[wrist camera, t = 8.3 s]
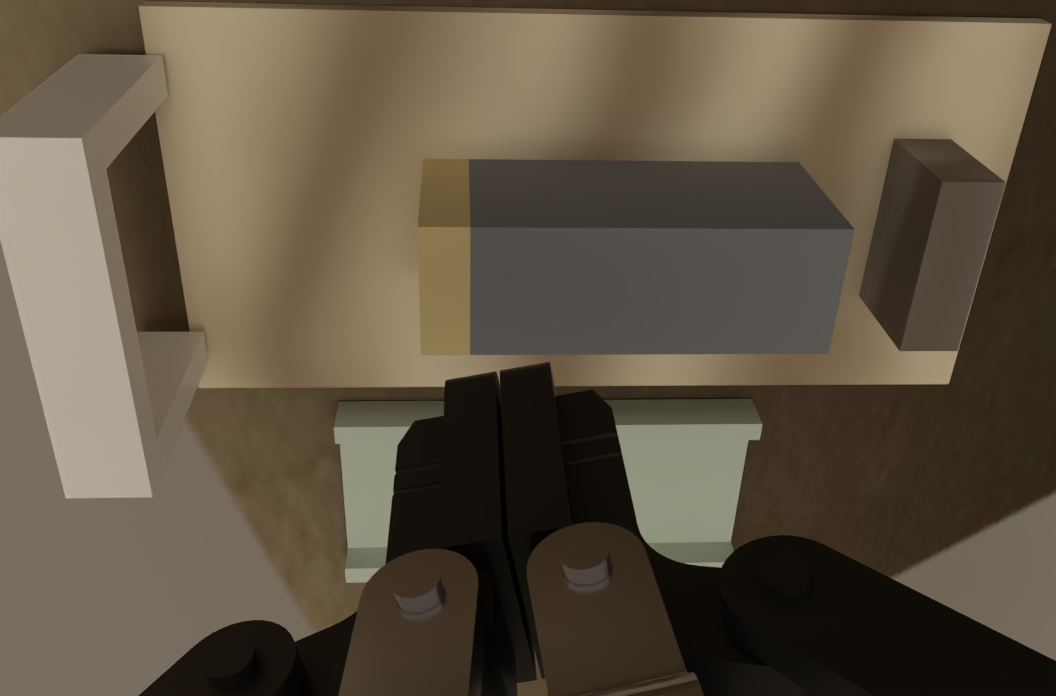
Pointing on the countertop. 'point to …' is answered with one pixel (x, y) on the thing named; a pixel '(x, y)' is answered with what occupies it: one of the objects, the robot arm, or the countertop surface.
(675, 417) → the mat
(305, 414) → the countertop surface
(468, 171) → the long gray brick
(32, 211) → the strap
